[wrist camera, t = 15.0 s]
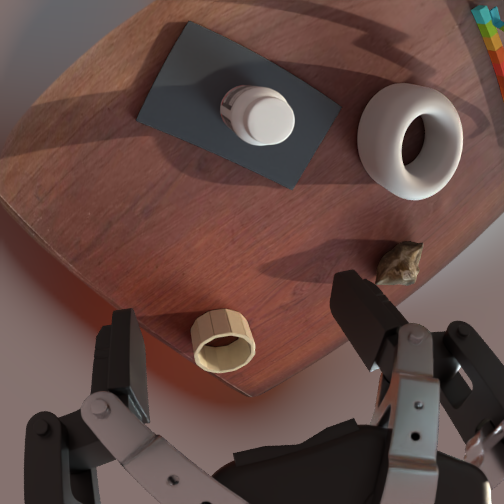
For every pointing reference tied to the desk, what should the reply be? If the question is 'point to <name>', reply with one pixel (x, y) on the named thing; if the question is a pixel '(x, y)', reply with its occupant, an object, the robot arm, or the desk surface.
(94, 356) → the robot arm
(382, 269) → the fossilized seashell
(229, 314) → the bracelet
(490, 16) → the chart
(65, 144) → the desk surface
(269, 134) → the pill bottle
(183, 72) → the mat
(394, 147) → the fat ring
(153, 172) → the desk surface
